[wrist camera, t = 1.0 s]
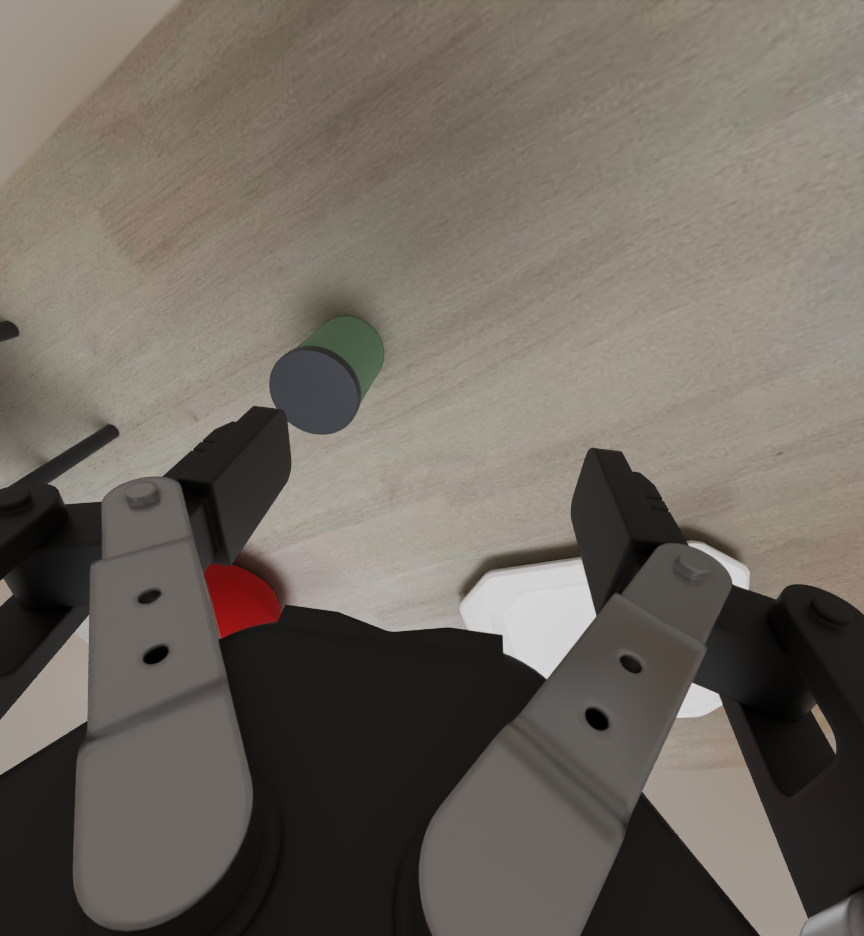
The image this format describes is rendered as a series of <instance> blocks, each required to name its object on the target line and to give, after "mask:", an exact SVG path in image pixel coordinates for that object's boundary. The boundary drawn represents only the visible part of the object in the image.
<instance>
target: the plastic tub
mask: <svg viewBox="0 0 864 936" xmlns="http://www.w3.org/2000/svg"><path fill="white" fill-rule="evenodd" d="M383 360H384V350H383V345H382V342H381V340H380V338H379V336H378V334H377V333H376V332H375V330H374V329H373V328H372V327H371V326H370V325H368V324H367V323H366V322H364V321H362V320H360V319H358V318H355V317H350V316H341V317H336V318H333V319H331V320H329V321H328V322H327V323H325V324H324V325H323V326H322V327H321V328H319V329H318V330H317V331H316V332H315V333H313V334H312V335H311V336H310V337H309V338H307V339H306V340H305V341H304V342H303V343H301V344H300V345H299V346H298V347H297V348H295V349H293V350H291V351H289V352H288V353H286V354H285V355H284V356H283V357H281V358H280V359H279V360H278V361H277V363H276V364H275V366H274V367H273V369H272V372H271V375H270V393H271V397H272V400H273V402H274V404H275V406H276V408H277V409H282V410H284V411H285V413H286V416H287V421H288V422H289V423H291V424H292V425H293V426H295V427H297V428H299V429H301V430H303V431H306V432H308V433H313V434H331V433H335V432H338V431H340V430H342V429H343V428H345V427H346V426H347V425H348V424H349V423H350V422H351V421H352V420H353V418H354V416H355V415H356V413H357V411H358V409H359V406H360V403H361V401H362V400H363V398H364V396H365V395H366V393H367V391H368V390H369V388H370V386H371V384H372V383H373V381H374V379H375V378H376V376H377V374H378V373H379V371H380V369H381V367H382V364H383Z"/></svg>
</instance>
